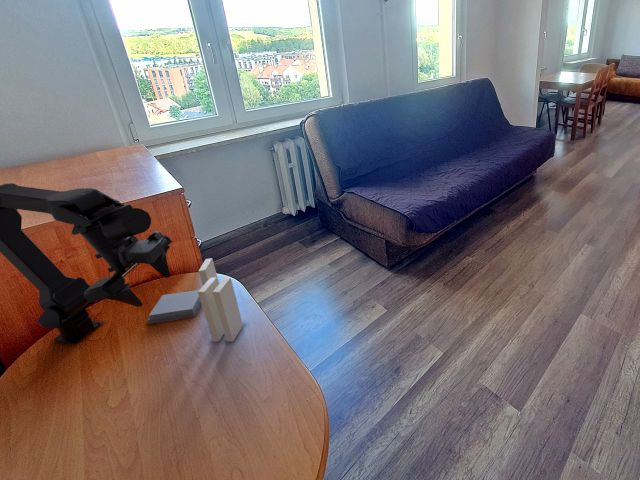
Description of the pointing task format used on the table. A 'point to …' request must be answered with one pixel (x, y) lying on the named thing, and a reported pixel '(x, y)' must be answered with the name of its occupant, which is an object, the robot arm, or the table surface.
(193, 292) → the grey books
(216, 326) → the cream books
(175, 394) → the table surface
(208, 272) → the slim cream book
